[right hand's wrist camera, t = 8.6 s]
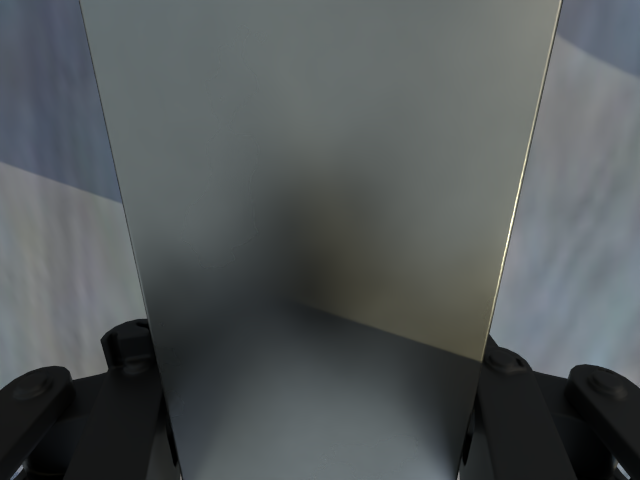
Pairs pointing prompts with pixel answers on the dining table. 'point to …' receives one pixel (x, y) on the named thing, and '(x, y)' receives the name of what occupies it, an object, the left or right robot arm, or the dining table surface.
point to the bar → (320, 217)
